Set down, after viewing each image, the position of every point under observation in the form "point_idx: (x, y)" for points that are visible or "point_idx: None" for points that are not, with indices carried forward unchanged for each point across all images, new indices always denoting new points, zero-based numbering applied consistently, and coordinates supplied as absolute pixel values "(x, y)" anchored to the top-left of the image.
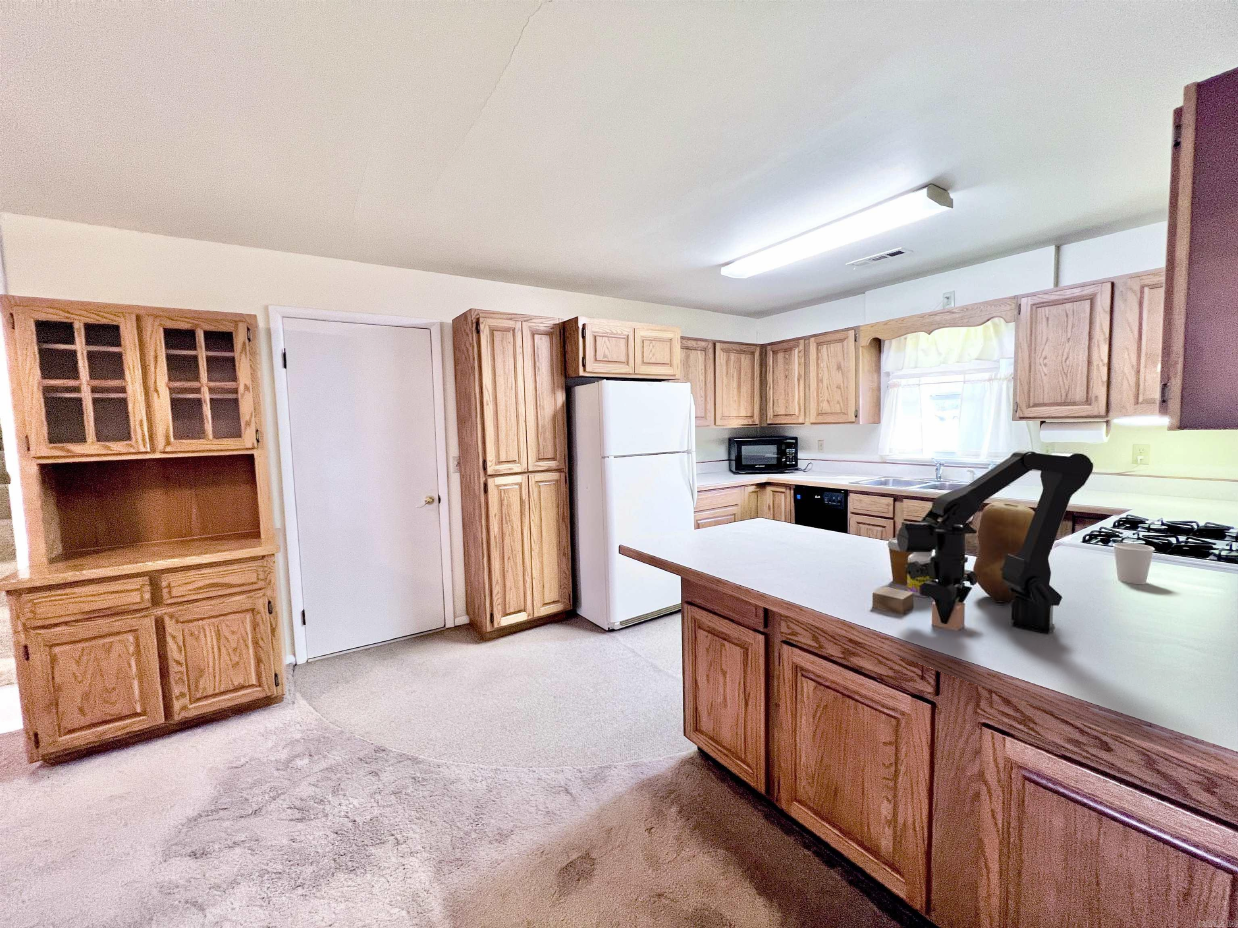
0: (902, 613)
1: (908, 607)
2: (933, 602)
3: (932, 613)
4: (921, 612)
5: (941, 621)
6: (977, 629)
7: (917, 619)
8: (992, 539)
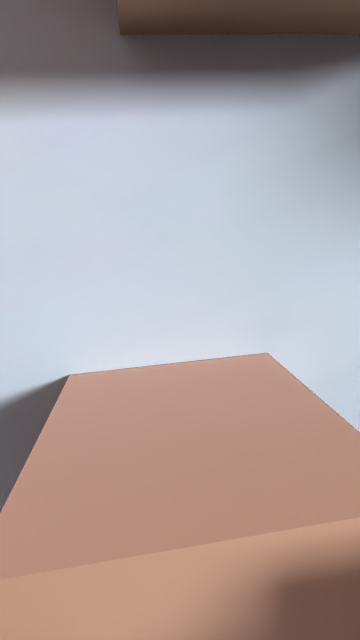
0: (128, 26)
1: (323, 7)
2: (42, 571)
3: (35, 444)
4: (335, 166)
5: None
6: None
7: (99, 228)
8: None
